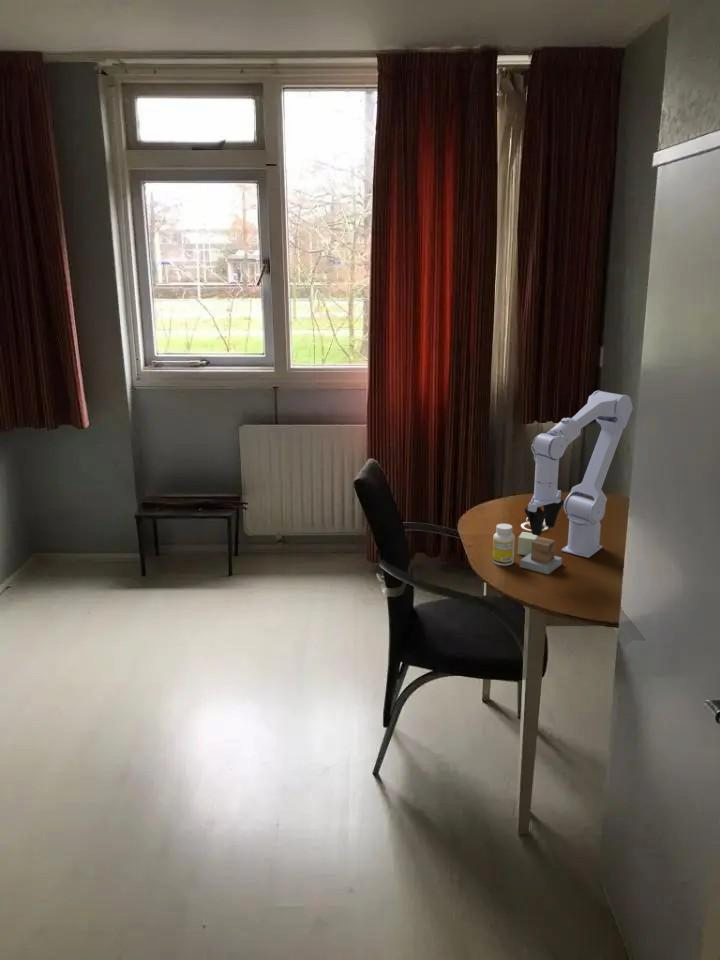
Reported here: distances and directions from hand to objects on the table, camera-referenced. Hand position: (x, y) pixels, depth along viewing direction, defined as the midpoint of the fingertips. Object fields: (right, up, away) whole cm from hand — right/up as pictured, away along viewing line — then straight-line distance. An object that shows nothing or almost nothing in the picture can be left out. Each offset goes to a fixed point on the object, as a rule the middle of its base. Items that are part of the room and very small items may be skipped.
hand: (543, 530), depth 200 cm
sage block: (-2, -7, +12) cm, 14 cm away
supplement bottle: (-9, -9, +6) cm, 14 cm away
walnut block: (0, -8, +2) cm, 8 cm away
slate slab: (0, -10, +3) cm, 10 cm away
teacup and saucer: (+7, -2, +29) cm, 30 cm away
